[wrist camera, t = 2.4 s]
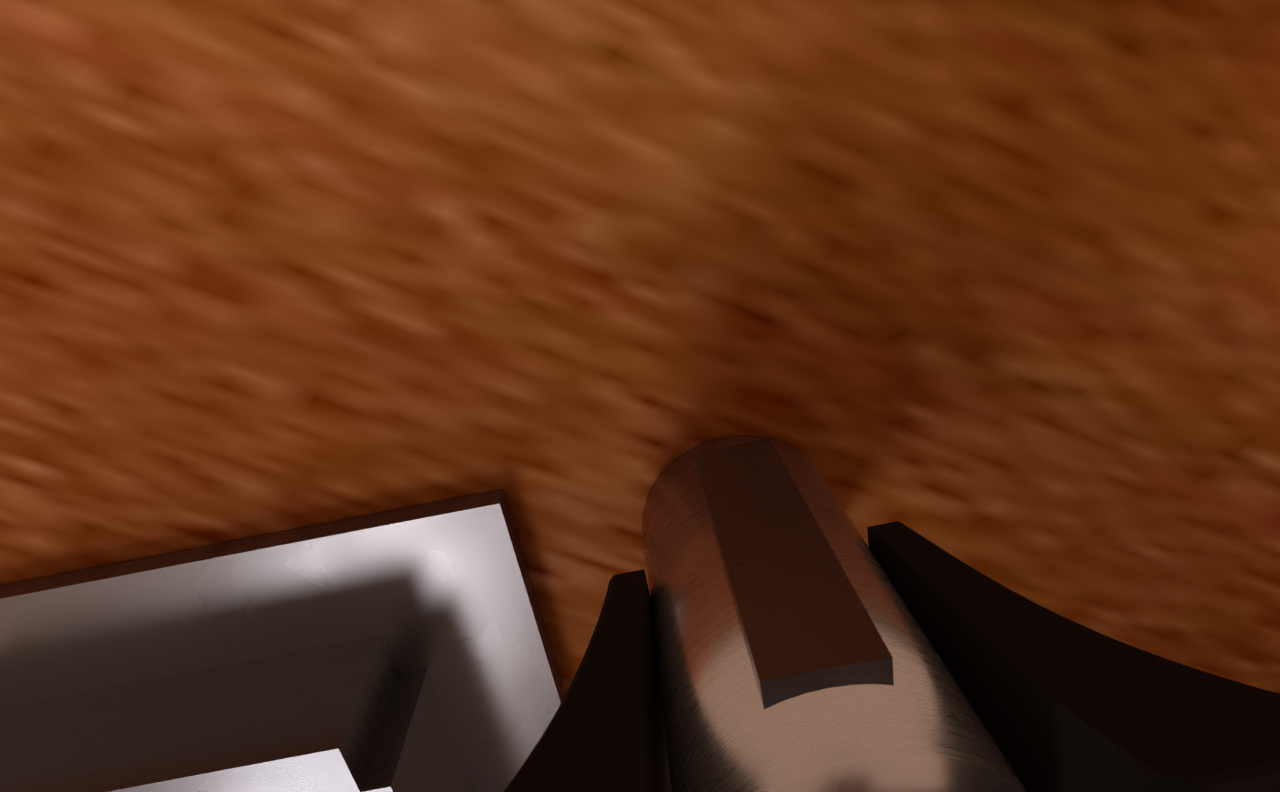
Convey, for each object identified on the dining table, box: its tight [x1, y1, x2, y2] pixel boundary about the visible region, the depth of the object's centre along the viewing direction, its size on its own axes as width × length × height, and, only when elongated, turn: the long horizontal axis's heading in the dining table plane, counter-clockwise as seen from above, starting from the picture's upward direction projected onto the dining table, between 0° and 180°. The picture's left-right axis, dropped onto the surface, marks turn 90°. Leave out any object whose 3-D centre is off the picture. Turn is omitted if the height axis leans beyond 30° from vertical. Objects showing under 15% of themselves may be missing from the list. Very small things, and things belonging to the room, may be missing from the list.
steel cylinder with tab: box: [642, 436, 1027, 792], centre depth 12 cm, size 5×4×8 cm
